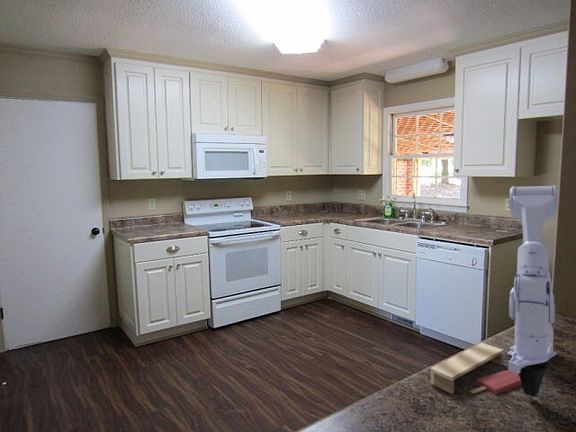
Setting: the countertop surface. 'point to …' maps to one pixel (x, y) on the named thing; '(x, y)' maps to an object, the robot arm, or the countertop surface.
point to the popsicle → (498, 382)
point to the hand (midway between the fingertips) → (530, 394)
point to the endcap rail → (463, 365)
